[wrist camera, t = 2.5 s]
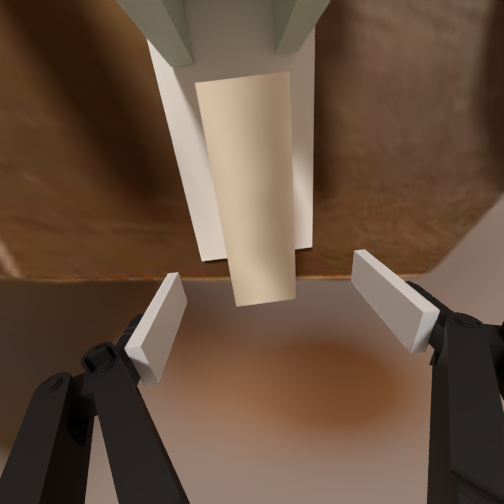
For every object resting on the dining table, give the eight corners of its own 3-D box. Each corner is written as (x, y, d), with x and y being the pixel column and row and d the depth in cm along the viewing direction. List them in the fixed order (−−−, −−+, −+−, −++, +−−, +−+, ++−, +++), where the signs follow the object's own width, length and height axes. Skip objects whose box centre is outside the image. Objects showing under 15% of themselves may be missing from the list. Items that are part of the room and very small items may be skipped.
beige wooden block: (236, 253, 27) (236, 306, 18) (214, 111, 20) (194, 82, 11) (276, 248, 27) (296, 298, 18) (266, 104, 20) (289, 71, 11)
